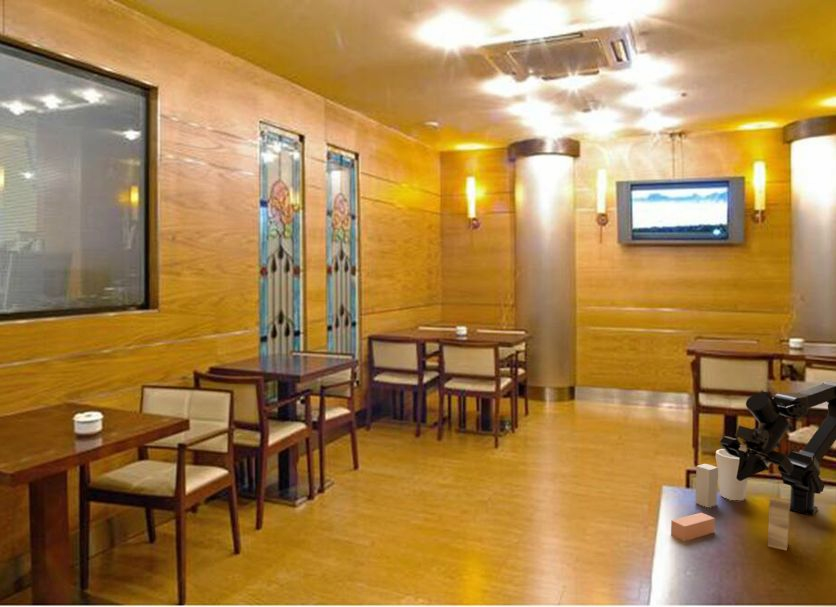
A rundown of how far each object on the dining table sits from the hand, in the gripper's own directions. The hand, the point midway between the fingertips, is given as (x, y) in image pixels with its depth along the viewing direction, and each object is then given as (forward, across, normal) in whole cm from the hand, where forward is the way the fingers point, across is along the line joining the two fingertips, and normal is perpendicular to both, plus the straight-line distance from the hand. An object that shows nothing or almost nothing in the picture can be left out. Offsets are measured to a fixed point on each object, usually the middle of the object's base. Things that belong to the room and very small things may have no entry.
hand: (738, 479), depth 165 cm
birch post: (+9, +13, +8) cm, 18 cm away
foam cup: (-2, -14, +19) cm, 24 cm away
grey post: (+6, -13, +11) cm, 18 cm away
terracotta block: (+14, -1, 0) cm, 14 cm away
